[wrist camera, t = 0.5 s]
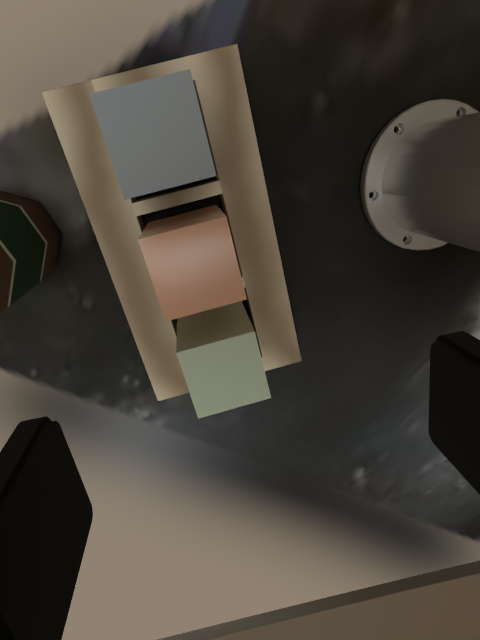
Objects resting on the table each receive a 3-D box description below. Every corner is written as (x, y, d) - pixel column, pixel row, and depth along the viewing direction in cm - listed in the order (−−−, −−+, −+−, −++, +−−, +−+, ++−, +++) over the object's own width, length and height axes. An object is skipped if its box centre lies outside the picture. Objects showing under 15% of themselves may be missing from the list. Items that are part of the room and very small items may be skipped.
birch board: (232, 54, 31) (237, 43, 28) (293, 347, 41) (301, 360, 38) (54, 99, 30) (41, 92, 28) (159, 384, 40) (158, 401, 37)
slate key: (187, 93, 29) (190, 68, 22) (208, 173, 31) (216, 176, 24) (112, 112, 29) (88, 94, 21) (138, 191, 31) (124, 199, 24)
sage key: (239, 296, 35) (254, 331, 28) (253, 351, 37) (271, 397, 30) (177, 313, 35) (176, 352, 27) (195, 368, 37) (198, 418, 30)
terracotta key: (216, 204, 32) (226, 216, 25) (232, 270, 34) (246, 299, 27) (148, 222, 32) (137, 239, 24) (169, 287, 34) (165, 321, 27)
